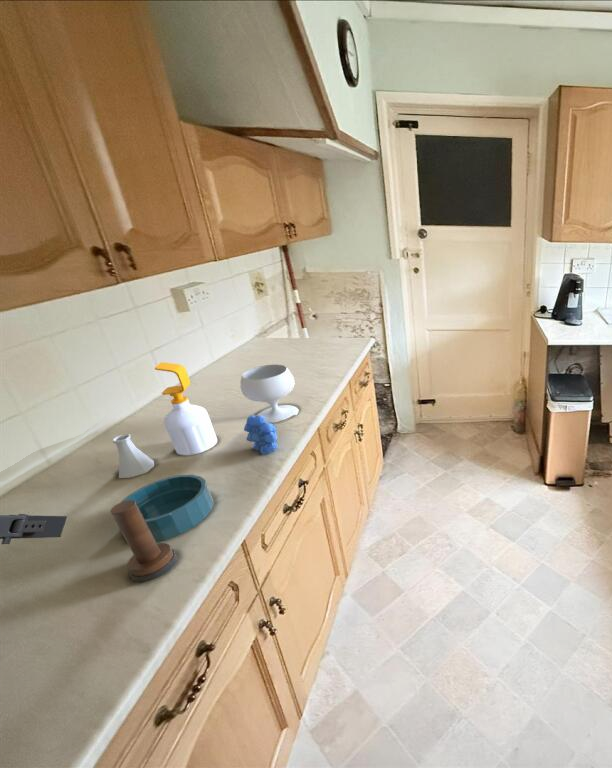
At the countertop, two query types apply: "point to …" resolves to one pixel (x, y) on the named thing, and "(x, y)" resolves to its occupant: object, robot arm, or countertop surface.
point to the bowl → (173, 504)
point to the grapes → (261, 434)
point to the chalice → (269, 390)
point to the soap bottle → (186, 417)
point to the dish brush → (142, 544)
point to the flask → (131, 458)
